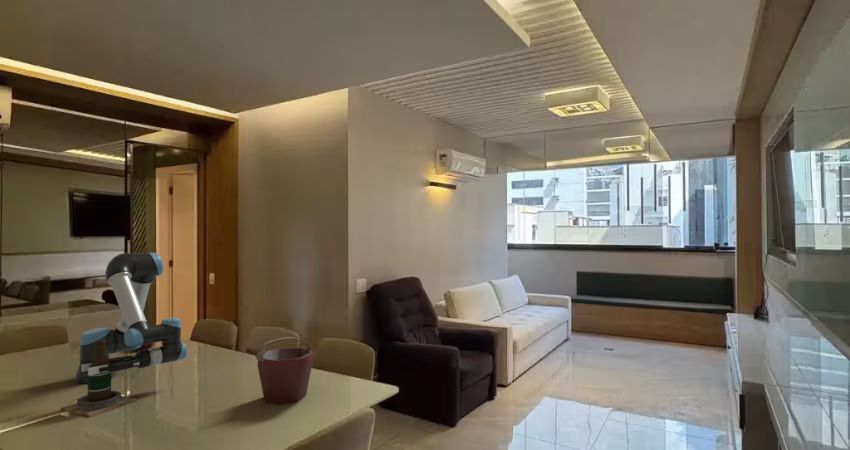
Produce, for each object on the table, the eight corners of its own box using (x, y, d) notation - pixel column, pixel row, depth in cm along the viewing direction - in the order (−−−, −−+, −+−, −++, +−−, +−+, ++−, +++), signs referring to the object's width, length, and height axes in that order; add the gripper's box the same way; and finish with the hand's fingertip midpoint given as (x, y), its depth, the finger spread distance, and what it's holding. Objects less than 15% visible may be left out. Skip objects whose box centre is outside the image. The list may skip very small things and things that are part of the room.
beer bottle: (98, 403, 180) (99, 342, 181) (82, 402, 182) (83, 341, 183) (115, 396, 188) (116, 338, 189) (99, 395, 190) (100, 337, 190)
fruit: (128, 351, 272) (128, 334, 273) (142, 347, 283) (143, 330, 283) (144, 352, 271) (144, 335, 271) (158, 347, 281) (158, 331, 282)
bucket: (257, 411, 179) (257, 346, 179) (250, 394, 198) (250, 336, 199) (319, 400, 190) (319, 340, 190) (307, 385, 209) (307, 330, 210)
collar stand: (60, 410, 180) (60, 401, 180) (107, 395, 197) (107, 387, 197) (90, 417, 173) (90, 407, 173) (136, 401, 190) (136, 392, 190)
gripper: (158, 370, 193) (93, 384, 175) (138, 362, 206) (76, 375, 187) (158, 352, 194) (94, 364, 175) (138, 345, 206) (77, 356, 188)
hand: (85, 370), depth 181 cm, fingers closed on beer bottle, 7 cm apart
